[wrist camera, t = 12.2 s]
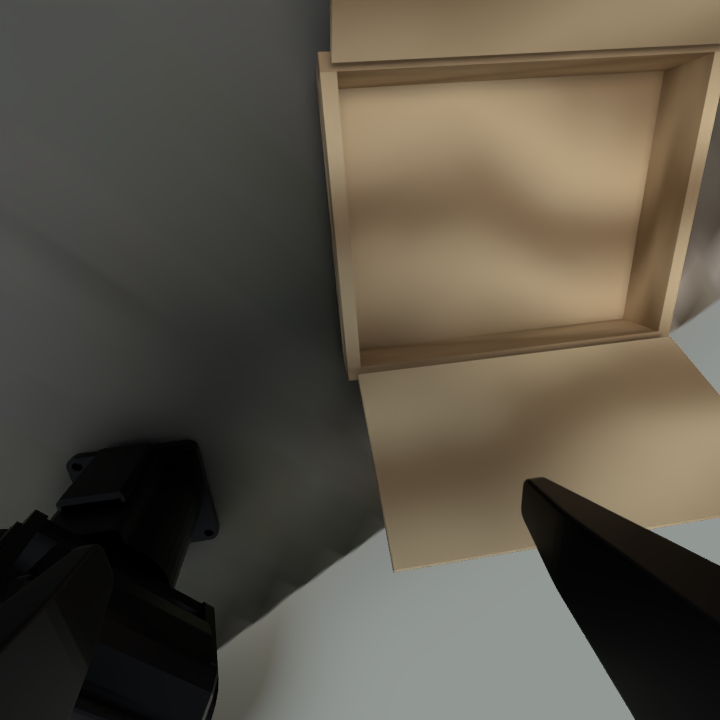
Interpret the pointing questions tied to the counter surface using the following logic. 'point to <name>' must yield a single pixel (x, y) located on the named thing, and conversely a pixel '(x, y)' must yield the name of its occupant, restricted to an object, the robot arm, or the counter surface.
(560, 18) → the flap near
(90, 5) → the counter surface
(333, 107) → the carton
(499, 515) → the flap far
